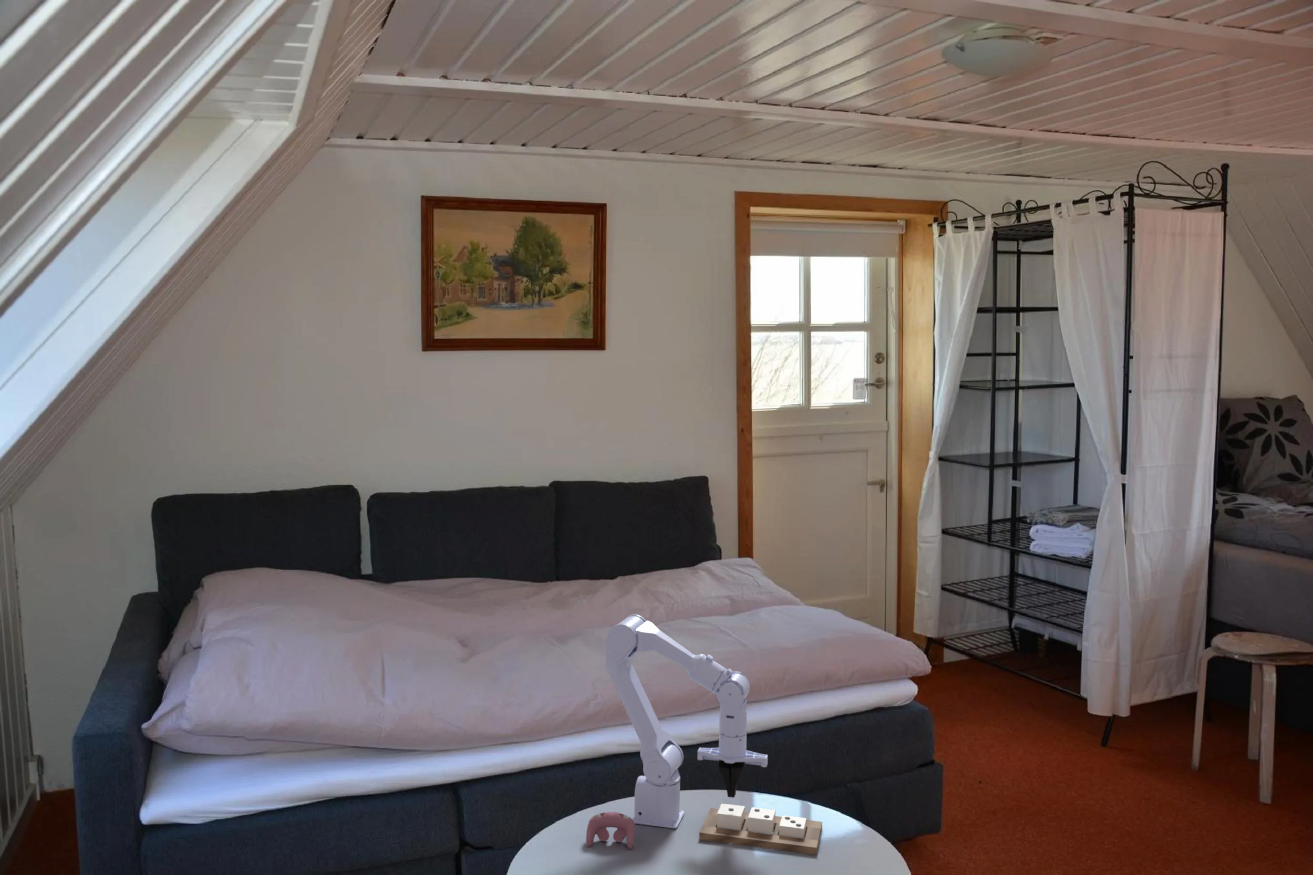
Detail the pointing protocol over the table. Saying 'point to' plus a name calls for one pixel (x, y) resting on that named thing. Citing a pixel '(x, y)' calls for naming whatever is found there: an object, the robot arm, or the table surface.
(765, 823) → the two dot tile
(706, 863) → the table surface
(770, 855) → the table surface
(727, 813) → the one dot tile
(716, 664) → the robot arm
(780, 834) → the three dot tile
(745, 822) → the tile board
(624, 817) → the video game controller
